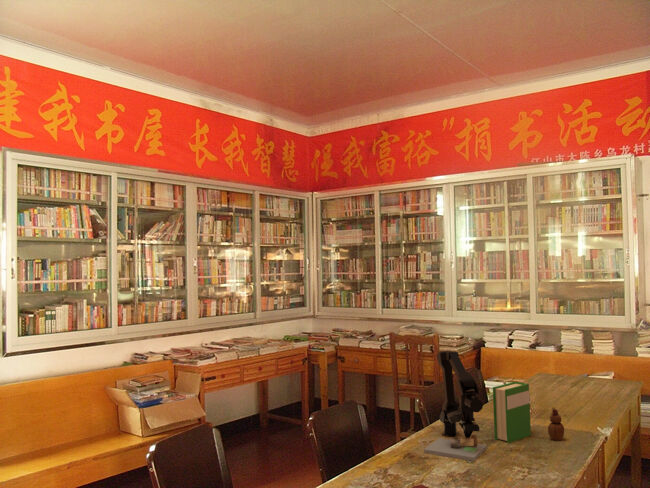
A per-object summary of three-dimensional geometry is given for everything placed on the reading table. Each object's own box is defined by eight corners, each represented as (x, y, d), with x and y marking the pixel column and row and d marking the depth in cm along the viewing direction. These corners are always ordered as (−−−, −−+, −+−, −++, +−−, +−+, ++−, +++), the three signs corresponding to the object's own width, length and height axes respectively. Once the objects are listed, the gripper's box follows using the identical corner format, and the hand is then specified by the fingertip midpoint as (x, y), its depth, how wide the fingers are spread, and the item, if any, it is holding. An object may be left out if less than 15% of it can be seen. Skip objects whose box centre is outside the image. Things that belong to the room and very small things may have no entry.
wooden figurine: (554, 442, 252) (552, 408, 253) (546, 438, 258) (544, 405, 258) (567, 440, 254) (565, 407, 255) (558, 436, 260) (557, 404, 260)
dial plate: (439, 441, 258) (439, 437, 258) (486, 448, 246) (486, 444, 246) (424, 452, 243) (424, 449, 243) (474, 461, 231) (474, 457, 231)
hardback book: (508, 443, 252) (506, 389, 253) (494, 439, 258) (492, 387, 259) (530, 435, 263) (528, 383, 264) (517, 431, 269) (515, 381, 270)
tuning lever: (452, 447, 242) (452, 438, 242) (449, 444, 246) (448, 435, 246) (478, 446, 243) (478, 436, 243) (475, 443, 248) (474, 433, 248)
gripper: (444, 399, 257) (444, 433, 257) (453, 412, 238) (453, 448, 238) (468, 399, 257) (468, 433, 257) (479, 412, 238) (479, 448, 238)
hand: (467, 440), depth 247 cm, fingers closed
